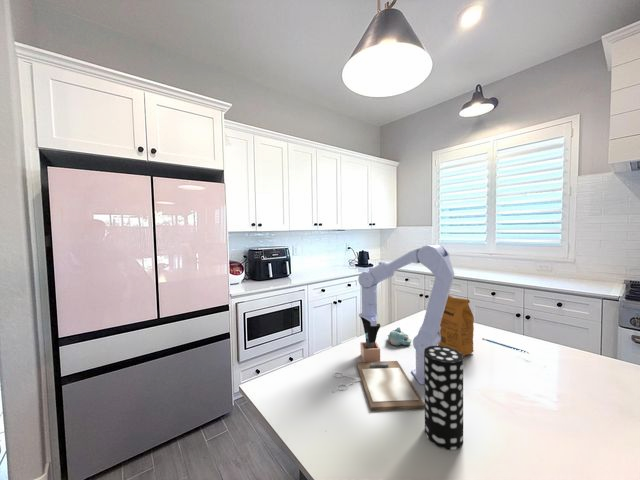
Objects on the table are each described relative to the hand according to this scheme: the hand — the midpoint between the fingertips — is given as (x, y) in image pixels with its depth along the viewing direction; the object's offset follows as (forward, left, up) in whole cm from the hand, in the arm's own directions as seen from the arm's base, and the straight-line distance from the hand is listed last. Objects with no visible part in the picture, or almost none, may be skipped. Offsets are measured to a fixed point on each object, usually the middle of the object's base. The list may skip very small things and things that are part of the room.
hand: (369, 337), depth 100 cm
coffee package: (-35, -4, -8) cm, 36 cm away
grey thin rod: (-57, -6, -9) cm, 58 cm away
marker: (0, 0, -8) cm, 8 cm away
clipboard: (-1, +16, -8) cm, 18 cm away
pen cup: (0, 0, -8) cm, 8 cm away
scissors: (+6, +14, -9) cm, 18 cm away
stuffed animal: (-16, -13, -8) cm, 22 cm away
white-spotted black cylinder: (-9, +38, -8) cm, 40 cm away
